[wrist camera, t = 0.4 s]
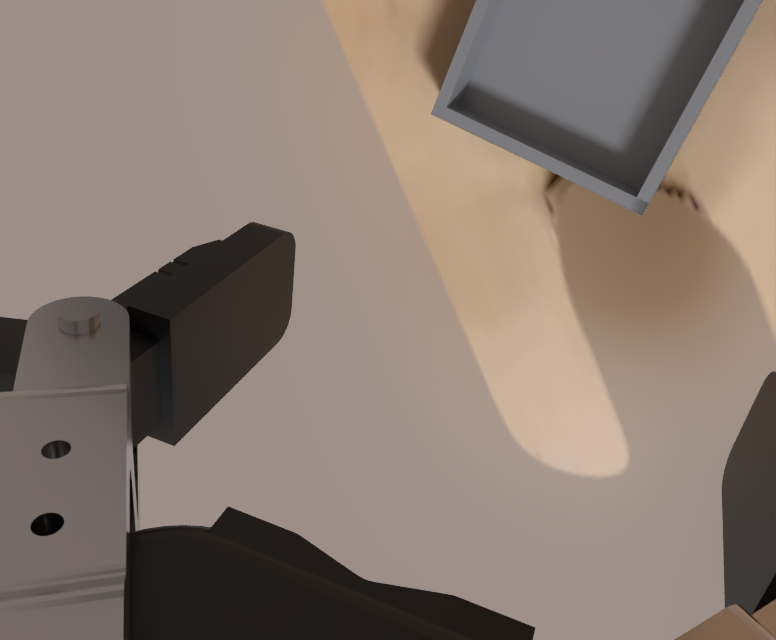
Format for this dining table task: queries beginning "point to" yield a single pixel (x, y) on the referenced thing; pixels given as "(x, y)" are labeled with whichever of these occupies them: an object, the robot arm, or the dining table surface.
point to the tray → (592, 83)
